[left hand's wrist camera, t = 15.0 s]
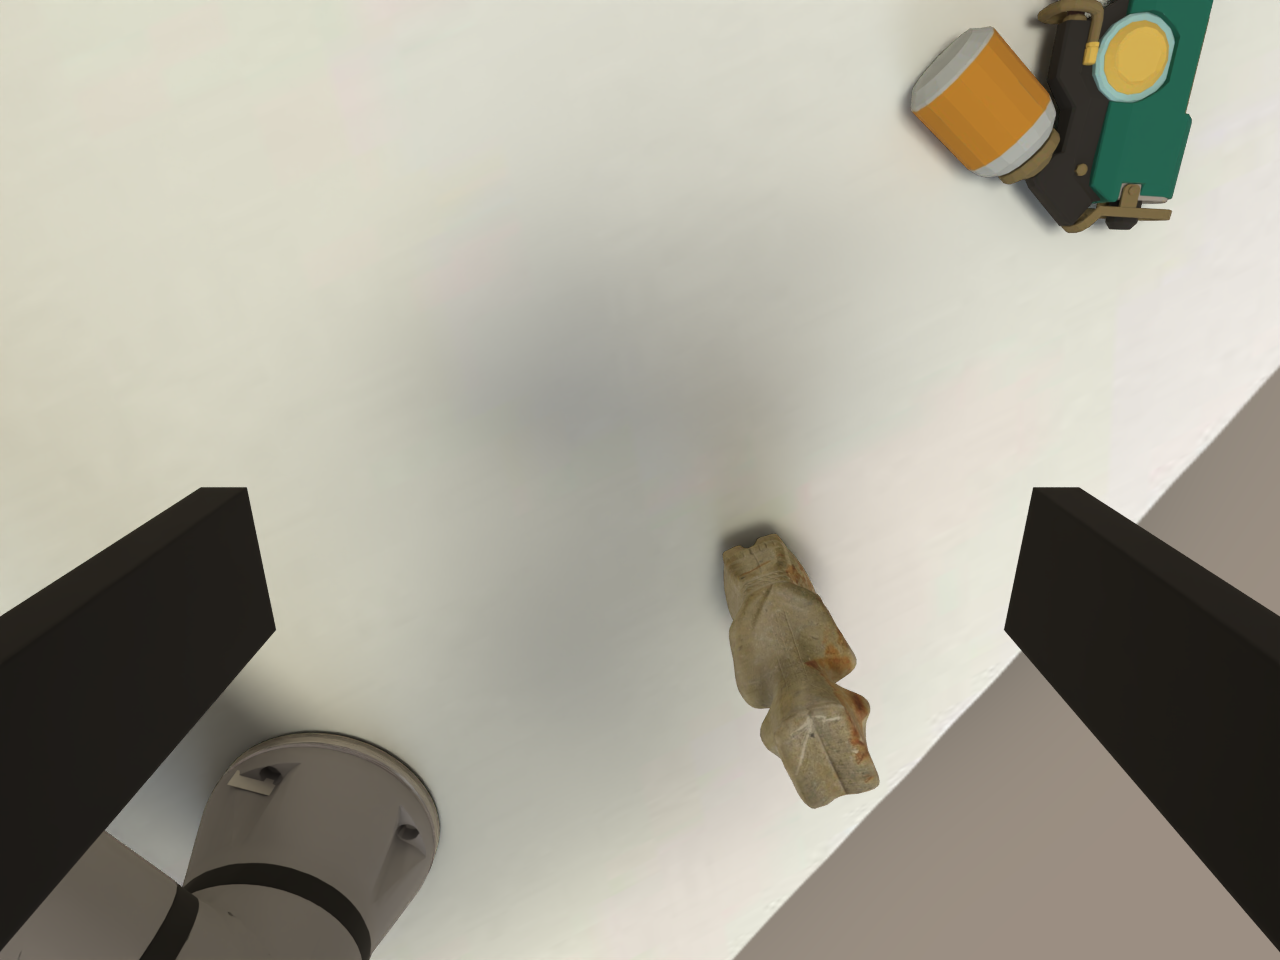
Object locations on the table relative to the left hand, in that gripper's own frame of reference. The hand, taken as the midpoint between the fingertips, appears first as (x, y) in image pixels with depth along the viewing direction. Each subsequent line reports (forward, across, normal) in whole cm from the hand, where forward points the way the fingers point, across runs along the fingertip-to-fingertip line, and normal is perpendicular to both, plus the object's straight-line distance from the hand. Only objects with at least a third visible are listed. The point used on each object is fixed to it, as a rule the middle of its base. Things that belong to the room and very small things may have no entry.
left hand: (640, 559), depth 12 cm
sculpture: (+28, -7, +15) cm, 33 cm away
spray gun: (+28, -20, -14) cm, 37 cm away
